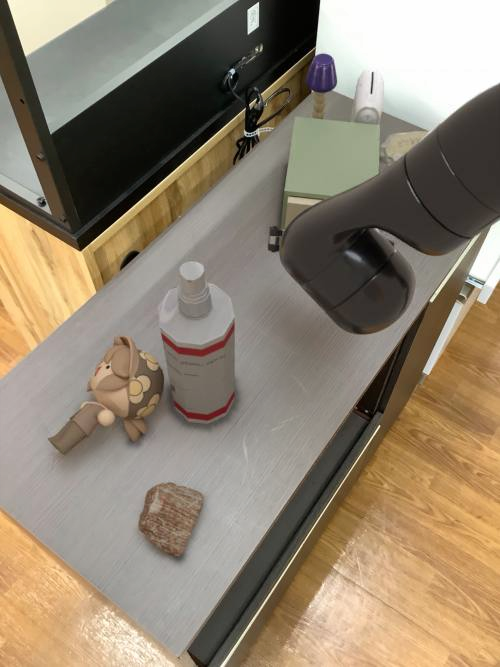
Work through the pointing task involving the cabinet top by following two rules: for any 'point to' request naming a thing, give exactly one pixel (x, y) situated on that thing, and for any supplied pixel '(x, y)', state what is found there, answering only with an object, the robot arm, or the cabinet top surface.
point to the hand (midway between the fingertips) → (326, 241)
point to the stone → (170, 516)
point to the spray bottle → (199, 346)
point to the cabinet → (329, 158)
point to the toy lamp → (321, 81)
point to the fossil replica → (397, 147)
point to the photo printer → (368, 98)
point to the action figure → (116, 395)
